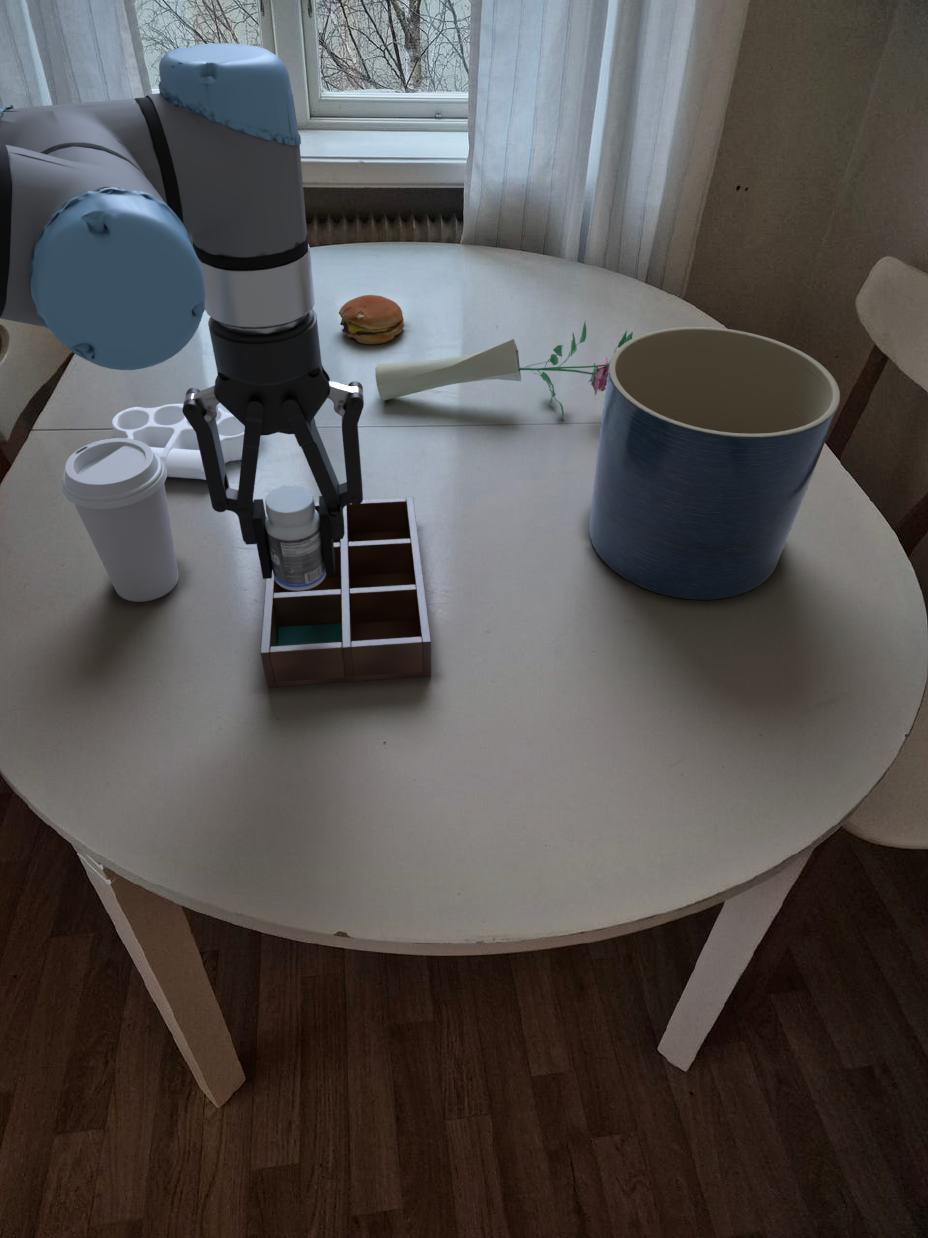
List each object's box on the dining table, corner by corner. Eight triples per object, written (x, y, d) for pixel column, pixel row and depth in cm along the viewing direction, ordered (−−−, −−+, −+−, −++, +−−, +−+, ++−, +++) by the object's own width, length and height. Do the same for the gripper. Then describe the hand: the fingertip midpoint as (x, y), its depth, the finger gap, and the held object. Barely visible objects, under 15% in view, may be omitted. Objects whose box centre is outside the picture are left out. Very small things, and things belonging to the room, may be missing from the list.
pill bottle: (271, 561, 78) (258, 484, 72) (324, 554, 79) (314, 478, 73) (275, 596, 75) (261, 518, 69) (330, 588, 76) (321, 511, 70)
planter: (545, 524, 99) (562, 362, 86) (677, 463, 109) (712, 309, 95) (688, 633, 87) (736, 464, 73) (823, 553, 97) (887, 390, 83)
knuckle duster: (92, 479, 104) (136, 417, 115) (238, 489, 103) (269, 425, 114) (84, 455, 102) (129, 394, 112) (234, 465, 101) (265, 402, 111)
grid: (267, 687, 80) (260, 653, 77) (277, 537, 97) (271, 503, 94) (431, 675, 82) (431, 641, 79) (413, 529, 98) (413, 496, 95)
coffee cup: (168, 541, 96) (136, 422, 85) (209, 586, 90) (180, 465, 80) (84, 576, 91) (39, 455, 81) (122, 625, 86) (79, 502, 76)
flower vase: (401, 433, 127) (642, 397, 121) (385, 455, 116) (648, 416, 110) (384, 351, 122) (634, 309, 116) (365, 366, 111) (640, 320, 105)
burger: (405, 318, 138) (404, 290, 135) (402, 346, 131) (401, 316, 128) (343, 318, 138) (341, 289, 134) (337, 345, 131) (334, 315, 128)
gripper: (386, 285, 64) (397, 534, 80) (138, 292, 62) (201, 545, 78) (392, 331, 58) (402, 588, 74) (121, 340, 56) (191, 601, 73)
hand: (299, 566), depth 76 cm, fingers closed on pill bottle, 5 cm apart
